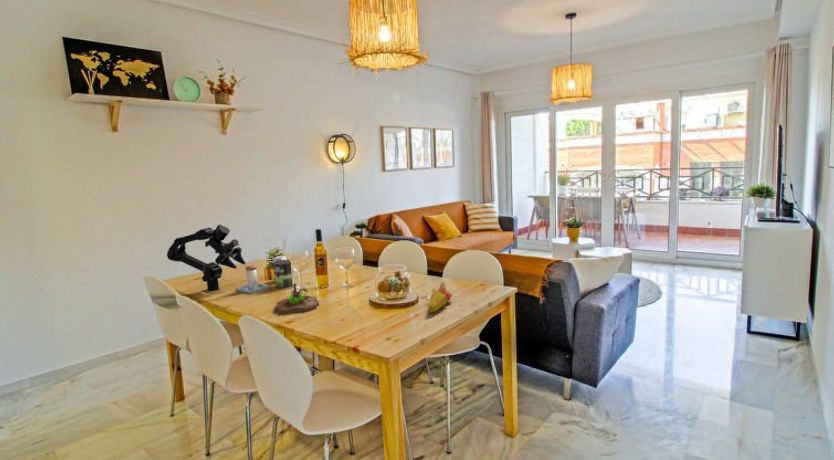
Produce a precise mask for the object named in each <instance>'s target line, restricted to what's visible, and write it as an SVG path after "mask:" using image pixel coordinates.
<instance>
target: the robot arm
mask: <svg viewBox="0 0 834 460" xmlns="http://www.w3.org/2000/svg"><path fill="white" fill-rule="evenodd" d="M230 232H231V231H230V229H229V228H228V227H226V226H225V225H222V224H217V226H216V228H215V229H213V228H212V227H206V228H201V229H199V230H197V231H195V233H192V234H188V235H186V236H185V235H184V236H181V237H178V238H175V239H174V241H173V242H172V244H171V245H170V246H169V248H168V250H167V253H166V257H167V259H168V260H169V261H171V262H180V263H184V264H185V265H187V266H190V267H192V268H194V269H196V270H199V271H200V272H202V274H203V276H202V277H201V280H202V282H206V288H207V291H208V292H216V291H218V290H220V285H219V279H221V278H222V275H223V268H222V266H225V267H228V268H231V269H234V270H237V265H236V264H235V263H233V261H232V260H234V261H235V262H238V263H239V264H241V265H246V262H245V260H244V258H243V255H242V250H243V249H242V248H241V247H239V246H240V245H239V240H238V239H236V238H234V239H232V240H231V241H230V242H228V243H227V242H223V241H225V239H226V238H227V237H228V235H229V234H230ZM194 241H205V242H204V244H205V245H204V246H205V248H208V247H211V248H212V249H213V250H214V254H218V256H217V257H216V258H215V260H214V261H215V262H214V261H212V262H209V263H207V262H204V261H202V260H200V259H198V258H195V257H193V256H191V255H189V254H188V253H187V251H186V248H187V247H186V244H188V243H190V242H194ZM231 258H232V259H231Z"/></svg>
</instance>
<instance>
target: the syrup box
mask: <svg viewBox="0 0 834 460" xmlns="http://www.w3.org/2000/svg"><path fill="white" fill-rule="evenodd" d="M280 260H288V259H287V256H284V255H279V256H276V257H274V258H272V264H273V263H274V262H276V261H280ZM272 266H273V265H272ZM273 268H274V266H273Z"/></svg>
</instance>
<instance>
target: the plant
mask: <svg viewBox="0 0 834 460" xmlns="http://www.w3.org/2000/svg"><path fill="white" fill-rule="evenodd" d="M292 287H293V290H292V292H291V293H290V294H286V296H287V297H286V298H285V299H284V298H282V299H281V300H279V301H278V302H277V304H276V305H275V306H274V311H275V313H278V315H290V314H289V313H292V314H298V312H299V313H307V312H312V311H314V310H317V309H318V308H317V307H319V306H320V301H318V299H317V297H315V296H311V295H308V294H307V293H308V291H309V290H308V289H307V288H301V289H300V290H299V291H297V283H295V282H294V285H293V286H292ZM302 291H304V293H306V294H303V292H302Z"/></svg>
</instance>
